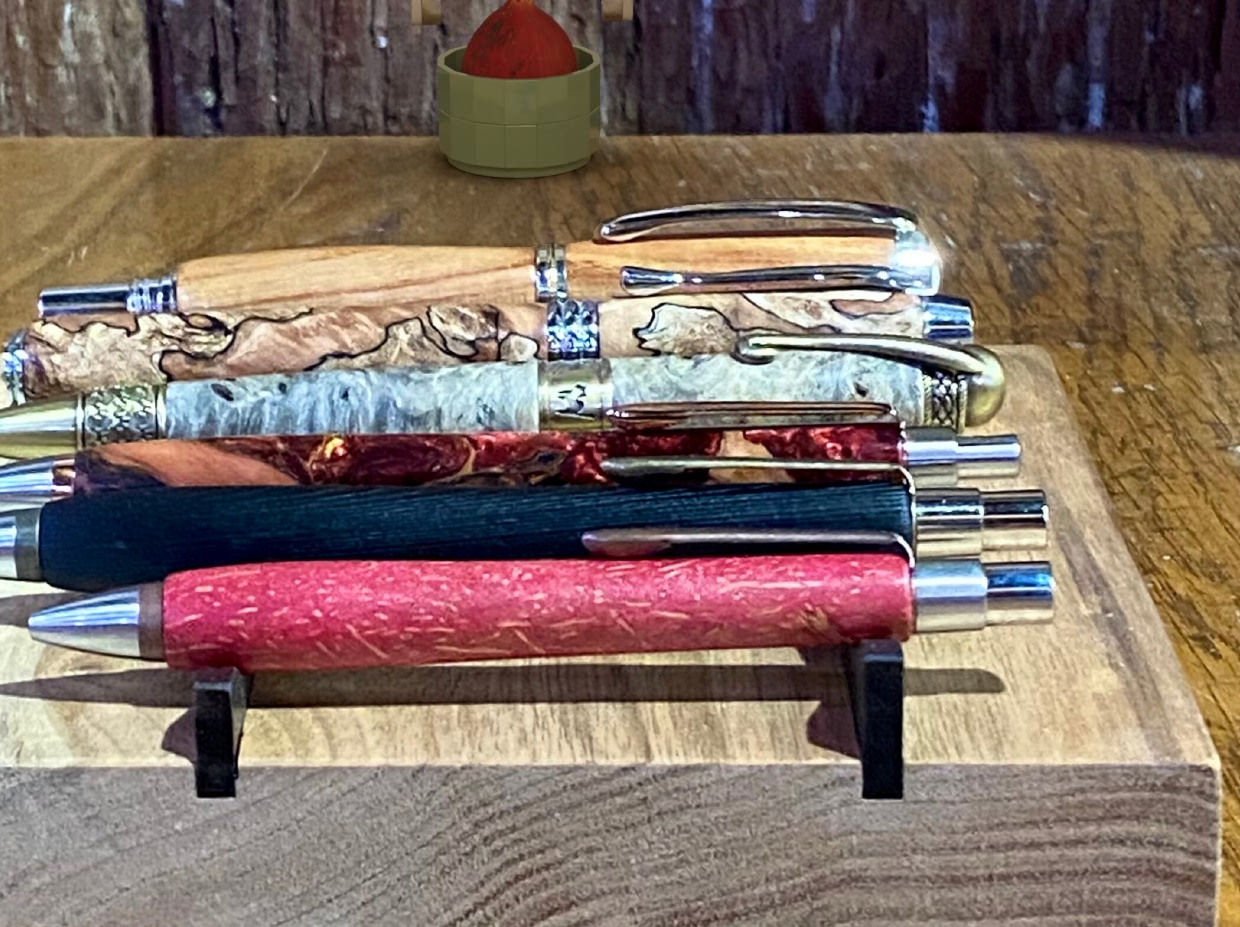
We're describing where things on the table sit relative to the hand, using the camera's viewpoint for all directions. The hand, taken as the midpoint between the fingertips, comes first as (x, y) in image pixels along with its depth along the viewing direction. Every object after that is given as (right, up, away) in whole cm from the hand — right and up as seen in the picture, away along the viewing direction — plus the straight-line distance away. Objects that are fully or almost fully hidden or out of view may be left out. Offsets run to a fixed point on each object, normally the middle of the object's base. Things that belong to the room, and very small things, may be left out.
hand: (521, 21), depth 112 cm
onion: (0, -6, +3) cm, 7 cm away
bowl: (0, -6, +3) cm, 7 cm away
